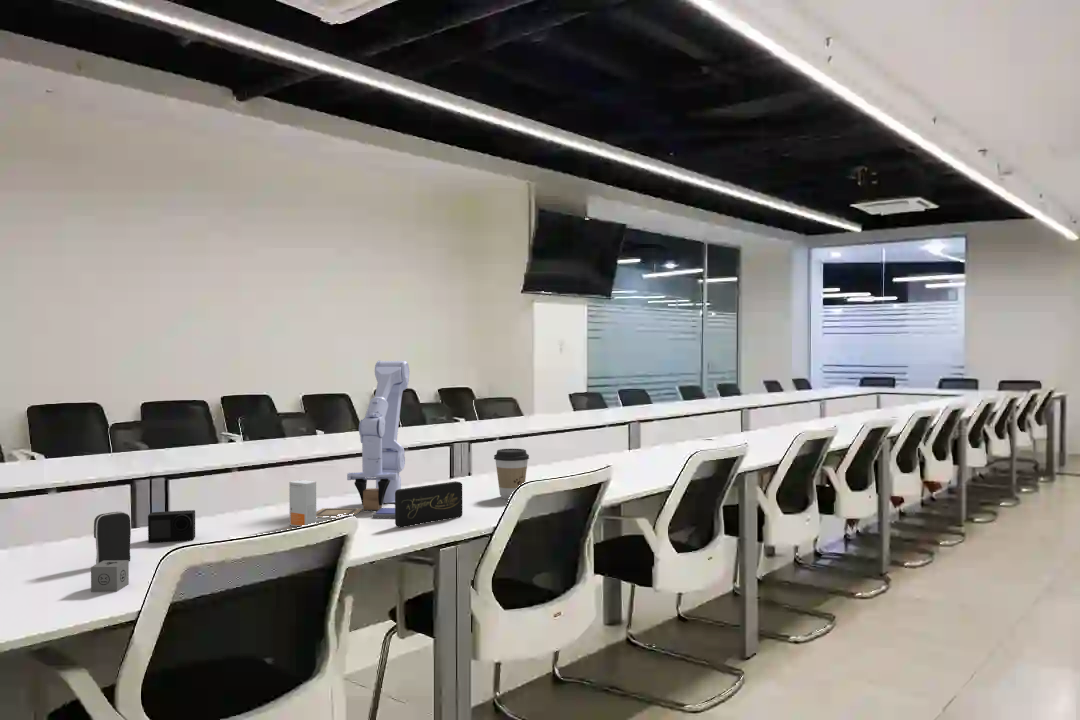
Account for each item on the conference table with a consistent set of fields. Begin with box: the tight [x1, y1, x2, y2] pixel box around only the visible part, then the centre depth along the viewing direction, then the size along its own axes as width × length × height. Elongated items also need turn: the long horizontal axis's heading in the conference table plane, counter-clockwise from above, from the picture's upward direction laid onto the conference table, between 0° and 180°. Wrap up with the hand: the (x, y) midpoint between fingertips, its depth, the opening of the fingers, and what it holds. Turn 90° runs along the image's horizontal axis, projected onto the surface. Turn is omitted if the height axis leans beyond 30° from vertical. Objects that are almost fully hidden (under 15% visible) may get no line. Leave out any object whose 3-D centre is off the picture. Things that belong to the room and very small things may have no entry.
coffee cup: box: [493, 448, 530, 500], centre depth 261 cm, size 11×11×15 cm
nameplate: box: [394, 481, 463, 528], centre depth 225 cm, size 21×2×10 cm, turn 132°
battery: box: [93, 511, 132, 565], centre depth 182 cm, size 7×4×11 cm, turn 137°
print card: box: [316, 507, 363, 517], centre depth 236 cm, size 12×12×1 cm
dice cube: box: [90, 560, 130, 593], centre depth 164 cm, size 5×5×5 cm
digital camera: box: [147, 509, 196, 544], centre depth 204 cm, size 10×5×7 cm, turn 106°
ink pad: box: [371, 507, 395, 519], centre depth 234 cm, size 9×9×1 cm
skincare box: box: [288, 479, 317, 528], centre depth 220 cm, size 6×4×12 cm
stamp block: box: [362, 487, 383, 512], centre depth 242 cm, size 4×4×6 cm
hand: (372, 504), depth 242 cm, fingers closed on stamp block, 4 cm apart
